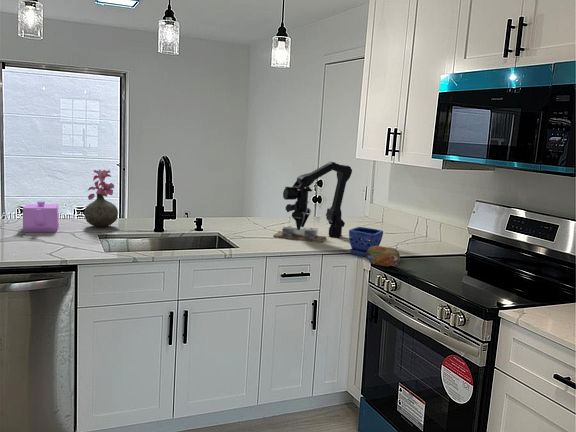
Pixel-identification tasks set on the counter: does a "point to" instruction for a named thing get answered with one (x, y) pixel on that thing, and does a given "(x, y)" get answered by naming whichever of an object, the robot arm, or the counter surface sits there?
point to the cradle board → (299, 235)
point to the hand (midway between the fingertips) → (300, 228)
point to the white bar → (301, 229)
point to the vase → (101, 203)
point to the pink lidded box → (40, 217)
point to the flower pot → (364, 239)
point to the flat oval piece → (383, 256)
